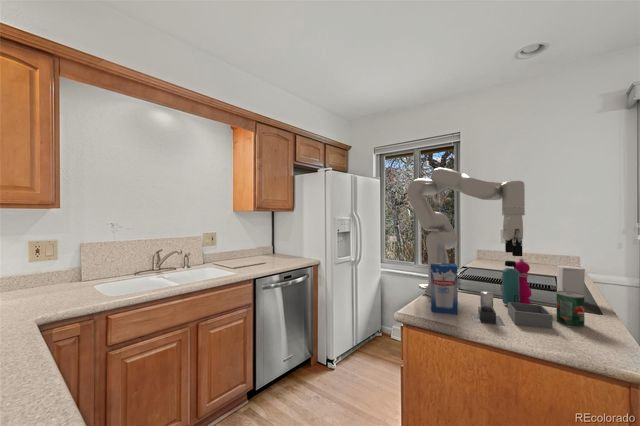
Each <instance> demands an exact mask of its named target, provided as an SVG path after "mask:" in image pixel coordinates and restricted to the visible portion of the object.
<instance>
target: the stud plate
mask: <svg viewBox="0 0 640 426" xmlns="http://www.w3.org/2000/svg"><path fill="white" fill-rule="evenodd" d="M470 315H471V318H472V321H473V323H477V324H478V323H479V324H484V325H485V324H486V325H493V326H494V325H496V326H501V327H502V326H506V325H505V323H504V321H503V320H502V318H501V316H500V315H496V322H489V321H480V319H479V316H478V312H477V313H476V312H475V313H474V312H470Z"/></svg>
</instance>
